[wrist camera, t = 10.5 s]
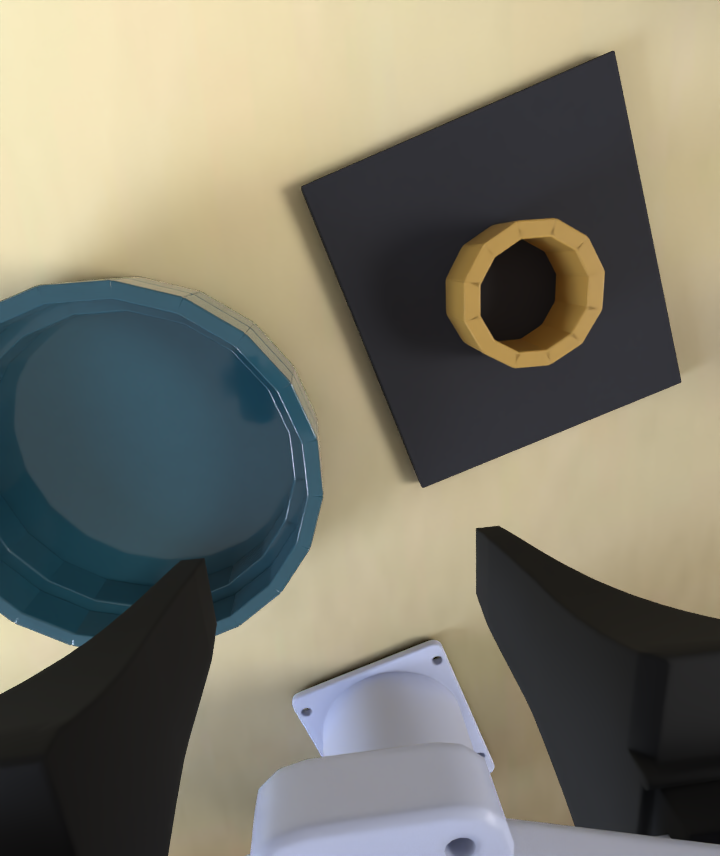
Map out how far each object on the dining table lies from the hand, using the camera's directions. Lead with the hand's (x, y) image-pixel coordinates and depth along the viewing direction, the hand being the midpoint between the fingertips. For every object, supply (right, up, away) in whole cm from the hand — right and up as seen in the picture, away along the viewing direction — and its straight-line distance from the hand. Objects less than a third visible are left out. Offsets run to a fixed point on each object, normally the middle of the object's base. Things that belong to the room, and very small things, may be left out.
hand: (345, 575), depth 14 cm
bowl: (-8, +3, +8) cm, 12 cm away
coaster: (+6, +9, +7) cm, 13 cm away
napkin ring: (+6, +9, +7) cm, 13 cm away
